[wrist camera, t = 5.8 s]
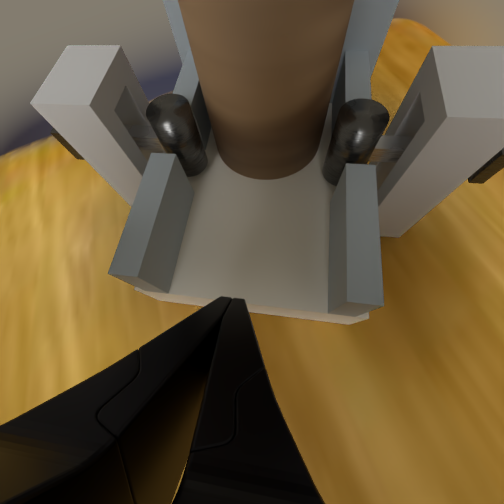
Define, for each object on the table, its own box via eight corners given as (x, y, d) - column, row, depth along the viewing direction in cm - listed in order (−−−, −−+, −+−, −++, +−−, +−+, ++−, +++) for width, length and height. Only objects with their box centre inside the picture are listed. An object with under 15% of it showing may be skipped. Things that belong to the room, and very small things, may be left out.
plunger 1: (203, 177, 14) (183, 126, 10) (86, 170, 14) (34, 120, 11) (210, 150, 14) (193, 94, 11) (98, 144, 15) (53, 90, 12)
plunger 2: (470, 195, 12) (540, 141, 9) (321, 185, 13) (338, 132, 10) (462, 163, 13) (526, 102, 10) (322, 155, 14) (338, 97, 10)
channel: (407, 332, 13) (640, 304, 5) (112, 294, 15) (-79, 229, 7) (389, 130, 18) (486, -49, 10) (171, 122, 20) (103, -34, 12)
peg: (300, 193, 13) (338, -8, 6) (199, 162, 15) (124, -34, 7) (332, 113, 16) (392, -113, 8) (241, 93, 17) (217, -118, 9)
